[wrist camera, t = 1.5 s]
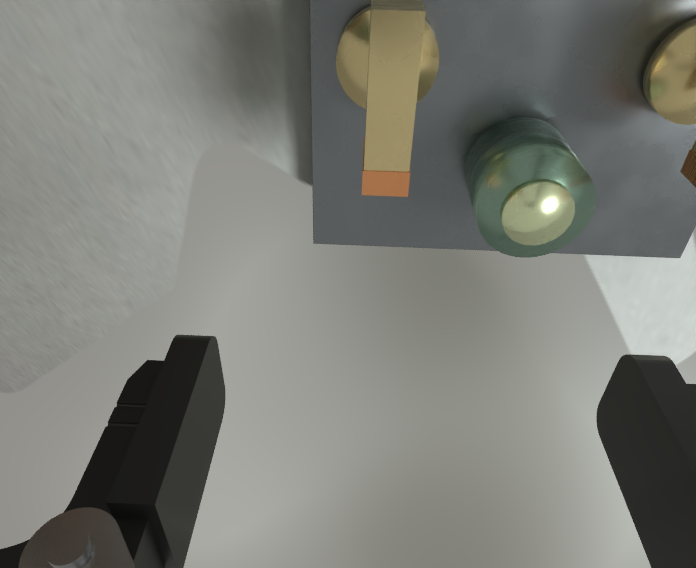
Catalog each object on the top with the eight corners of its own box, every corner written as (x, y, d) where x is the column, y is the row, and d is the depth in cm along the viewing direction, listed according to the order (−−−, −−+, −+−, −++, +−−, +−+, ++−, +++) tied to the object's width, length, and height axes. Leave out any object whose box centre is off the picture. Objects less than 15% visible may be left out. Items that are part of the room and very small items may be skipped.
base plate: (309, -140, 25) (293, -138, 20) (845, -122, 25) (976, -116, 19) (315, 233, 37) (305, 297, 32) (672, 247, 37) (723, 314, 32)
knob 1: (337, -28, 26) (327, 8, 20) (447, -24, 26) (469, 13, 20) (336, 127, 31) (327, 193, 25) (428, 131, 31) (442, 198, 25)
